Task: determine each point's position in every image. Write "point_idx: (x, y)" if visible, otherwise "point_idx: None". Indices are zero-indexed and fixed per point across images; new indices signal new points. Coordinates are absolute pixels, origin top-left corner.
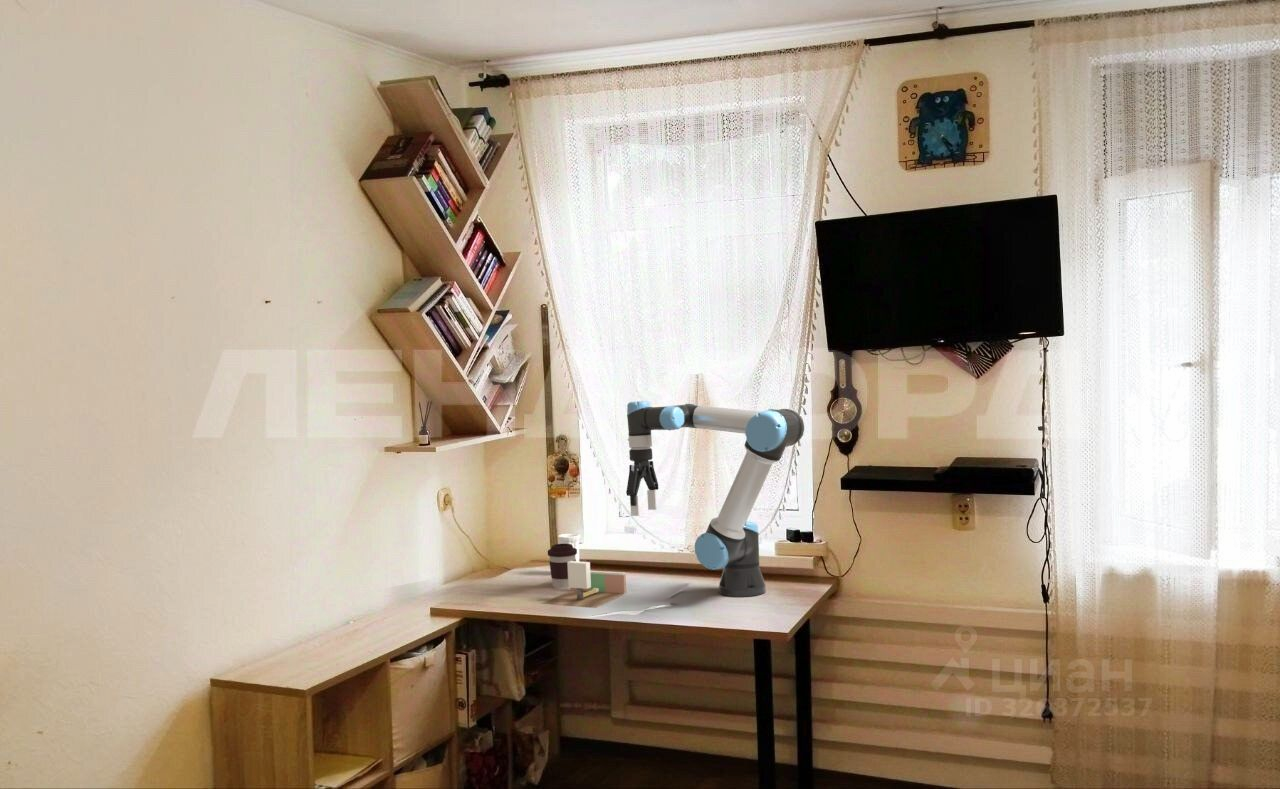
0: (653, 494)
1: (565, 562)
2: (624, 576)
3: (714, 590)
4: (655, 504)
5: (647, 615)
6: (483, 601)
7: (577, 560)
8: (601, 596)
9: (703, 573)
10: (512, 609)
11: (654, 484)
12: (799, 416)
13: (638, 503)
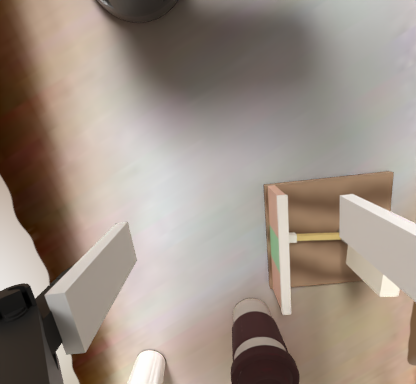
0: (87, 280)
1: (280, 341)
2: (281, 194)
3: (150, 37)
4: (113, 234)
5: (394, 58)
6: (364, 369)
7: (142, 372)
8: (308, 212)
9: (24, 148)
10: (402, 304)
11: (5, 346)
12: None
13: (396, 219)
